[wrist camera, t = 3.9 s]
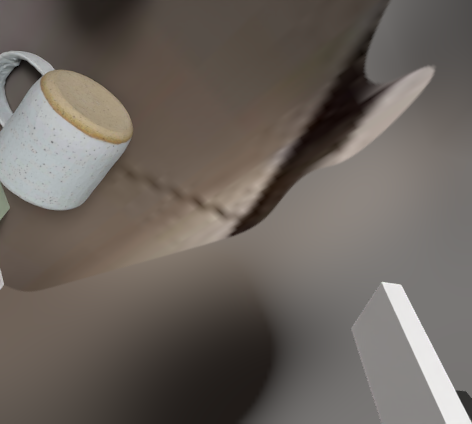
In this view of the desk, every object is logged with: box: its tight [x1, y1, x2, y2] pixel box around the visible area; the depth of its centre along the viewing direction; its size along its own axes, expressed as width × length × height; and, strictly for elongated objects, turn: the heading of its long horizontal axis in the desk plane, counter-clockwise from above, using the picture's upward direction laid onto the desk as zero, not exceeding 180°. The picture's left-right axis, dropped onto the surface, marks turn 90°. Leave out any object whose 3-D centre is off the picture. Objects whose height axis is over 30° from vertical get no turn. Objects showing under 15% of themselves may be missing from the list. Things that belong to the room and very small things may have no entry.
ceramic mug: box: [0, 51, 133, 210], centre depth 26 cm, size 11×8×8 cm
